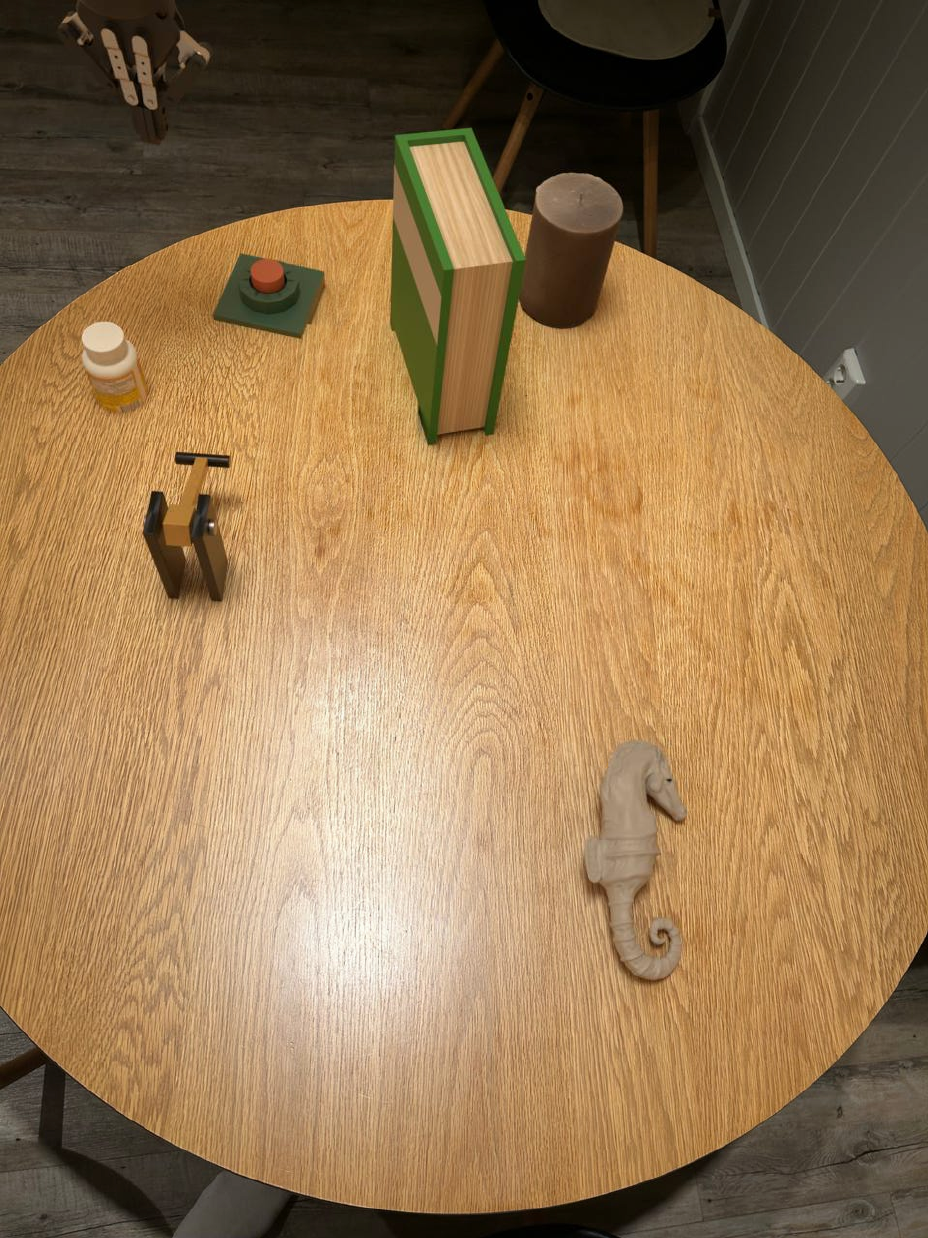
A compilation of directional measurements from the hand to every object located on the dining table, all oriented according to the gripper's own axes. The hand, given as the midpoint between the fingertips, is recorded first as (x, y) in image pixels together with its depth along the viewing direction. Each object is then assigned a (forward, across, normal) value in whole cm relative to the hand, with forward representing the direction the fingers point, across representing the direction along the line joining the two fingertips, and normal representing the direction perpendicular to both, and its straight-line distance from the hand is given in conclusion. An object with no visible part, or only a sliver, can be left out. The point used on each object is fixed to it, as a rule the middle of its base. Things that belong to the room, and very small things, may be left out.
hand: (154, 137), depth 85 cm
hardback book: (+23, +29, 0) cm, 37 cm away
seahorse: (+22, +56, -50) cm, 78 cm away
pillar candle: (+22, +40, +16) cm, 48 cm away
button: (+19, +8, +5) cm, 21 cm away
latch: (+15, +11, -28) cm, 34 cm away
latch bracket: (+23, +12, -32) cm, 41 cm away
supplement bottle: (+23, -3, -12) cm, 27 cm away
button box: (+23, +8, +5) cm, 25 cm away
